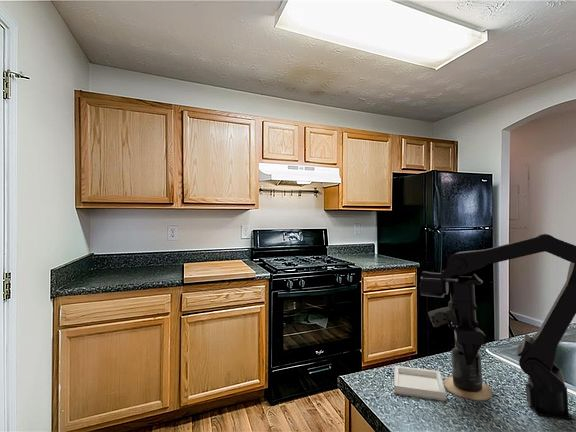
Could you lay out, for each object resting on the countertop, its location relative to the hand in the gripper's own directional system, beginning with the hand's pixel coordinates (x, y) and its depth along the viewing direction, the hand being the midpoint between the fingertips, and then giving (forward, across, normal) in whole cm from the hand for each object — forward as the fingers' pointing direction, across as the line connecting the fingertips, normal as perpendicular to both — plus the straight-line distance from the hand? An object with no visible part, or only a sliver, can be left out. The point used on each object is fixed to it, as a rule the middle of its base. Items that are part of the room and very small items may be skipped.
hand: (465, 359), depth 80 cm
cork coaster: (+8, 0, 0) cm, 8 cm away
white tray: (+8, +2, -12) cm, 14 cm away
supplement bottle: (+7, 0, 0) cm, 7 cm away
